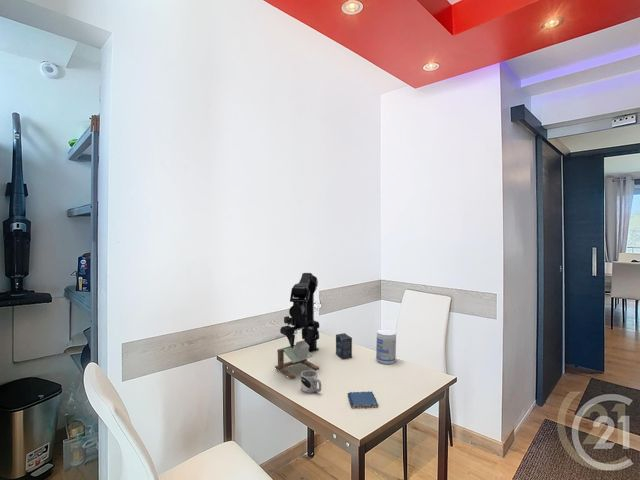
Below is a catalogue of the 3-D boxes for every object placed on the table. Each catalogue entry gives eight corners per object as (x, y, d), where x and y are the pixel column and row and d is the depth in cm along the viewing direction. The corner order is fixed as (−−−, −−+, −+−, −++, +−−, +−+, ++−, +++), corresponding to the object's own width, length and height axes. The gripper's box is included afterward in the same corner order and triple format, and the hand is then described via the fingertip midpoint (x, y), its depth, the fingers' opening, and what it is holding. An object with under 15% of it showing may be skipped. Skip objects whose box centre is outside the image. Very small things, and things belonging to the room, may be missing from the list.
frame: (275, 368, 157) (274, 347, 156) (301, 360, 166) (301, 340, 166) (291, 379, 146) (291, 357, 145) (319, 369, 156) (319, 348, 155)
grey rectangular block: (301, 350, 157) (304, 340, 155) (306, 356, 154) (309, 346, 152) (293, 353, 154) (296, 342, 152) (298, 359, 151) (301, 348, 149)
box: (335, 354, 174) (335, 334, 174) (345, 352, 177) (345, 332, 176) (342, 359, 167) (342, 339, 167) (352, 357, 169) (352, 337, 169)
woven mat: (379, 409, 123) (379, 404, 123) (351, 410, 122) (351, 405, 122) (373, 395, 133) (373, 390, 133) (347, 396, 132) (347, 391, 132)
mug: (297, 389, 137) (297, 373, 137) (309, 383, 142) (309, 368, 141) (315, 398, 130) (315, 381, 130) (326, 391, 135) (326, 375, 135)
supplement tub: (374, 363, 163) (374, 333, 162) (378, 355, 172) (378, 328, 171) (394, 366, 159) (394, 335, 159) (397, 358, 168) (397, 330, 168)
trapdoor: (282, 350, 155) (283, 349, 155) (301, 345, 162) (302, 343, 162) (293, 363, 149) (293, 361, 148) (312, 356, 156) (312, 355, 155)
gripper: (305, 306, 165) (306, 336, 166) (273, 312, 153) (274, 345, 154) (320, 310, 156) (320, 343, 157) (287, 317, 144) (287, 352, 145)
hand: (300, 345), depth 153 cm, fingers open, 9 cm apart
